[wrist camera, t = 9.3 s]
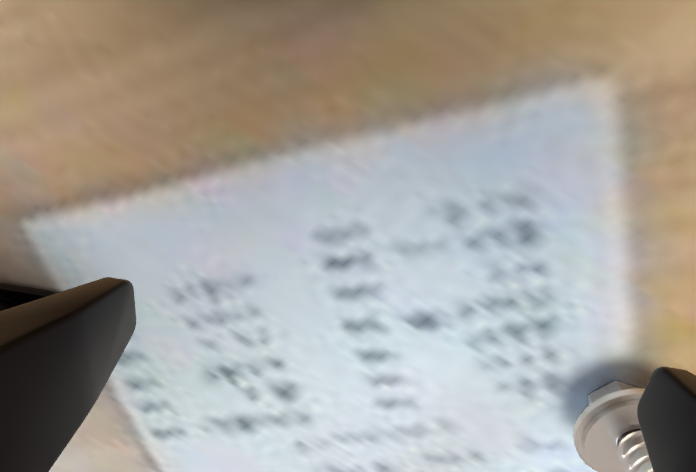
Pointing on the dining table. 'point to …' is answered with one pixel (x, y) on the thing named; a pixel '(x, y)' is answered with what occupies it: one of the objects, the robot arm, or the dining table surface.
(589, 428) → the screw
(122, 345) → the robot arm
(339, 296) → the dining table surface
